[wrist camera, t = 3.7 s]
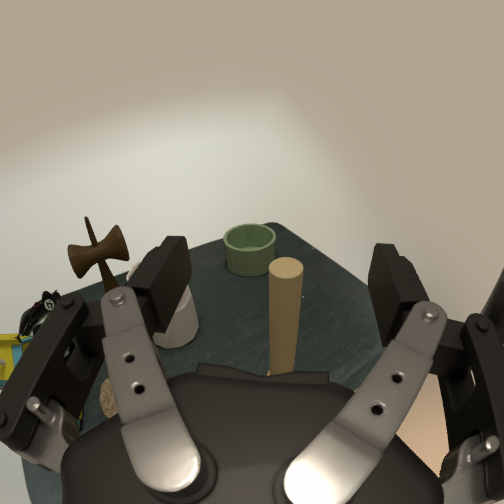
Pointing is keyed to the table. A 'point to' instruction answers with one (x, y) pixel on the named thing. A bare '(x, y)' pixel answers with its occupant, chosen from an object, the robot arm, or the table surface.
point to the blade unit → (284, 312)
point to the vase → (177, 321)
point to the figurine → (41, 317)
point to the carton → (16, 358)
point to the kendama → (99, 255)
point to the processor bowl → (249, 249)
